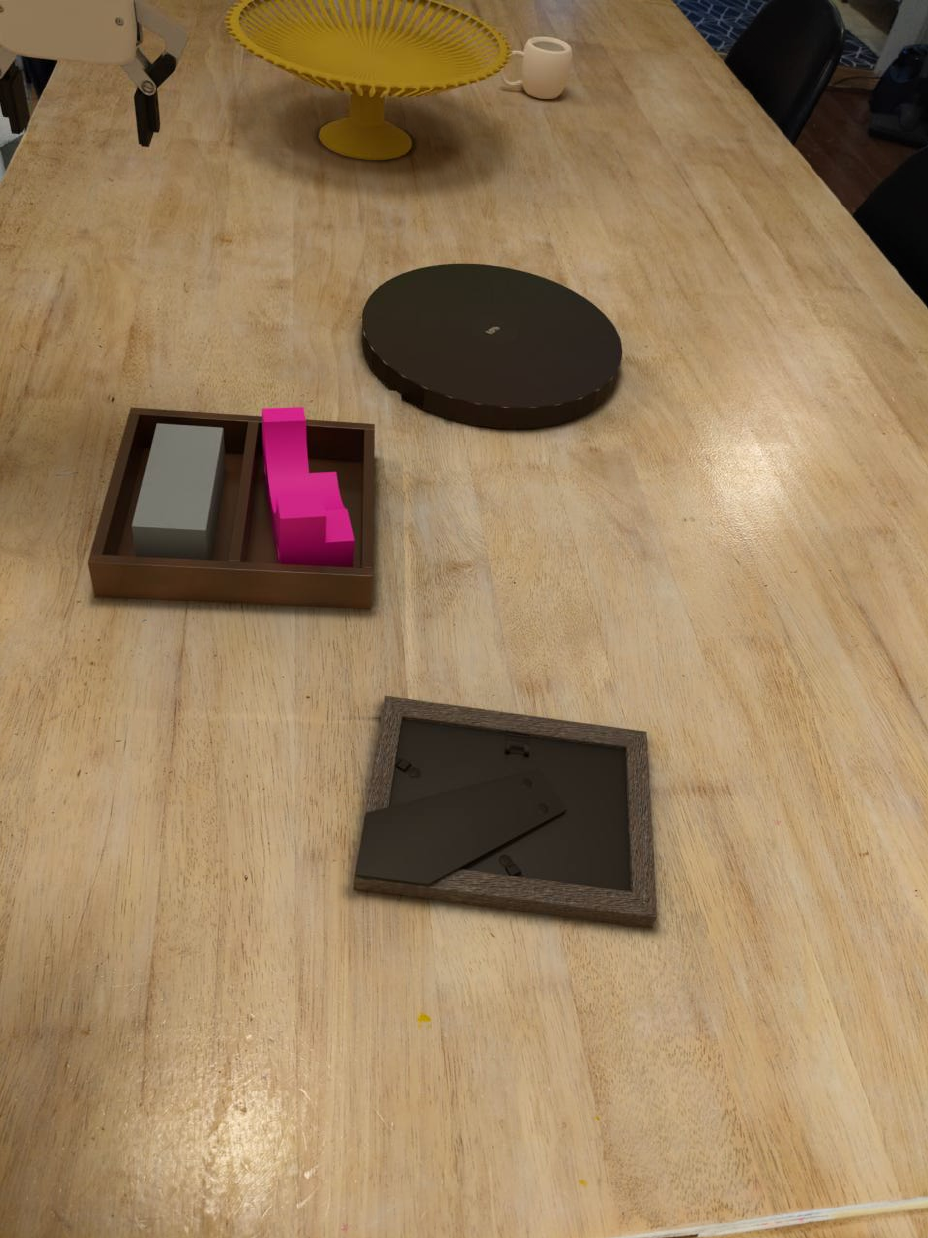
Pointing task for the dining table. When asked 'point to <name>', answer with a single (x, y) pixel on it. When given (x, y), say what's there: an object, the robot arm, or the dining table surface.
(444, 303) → the disc
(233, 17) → the yellow pedestal bowl
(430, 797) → the picture frame
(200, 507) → the gray rectangular block
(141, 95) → the robot arm
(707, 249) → the dining table surface
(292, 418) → the toy block
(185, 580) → the divided tray
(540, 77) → the mug
